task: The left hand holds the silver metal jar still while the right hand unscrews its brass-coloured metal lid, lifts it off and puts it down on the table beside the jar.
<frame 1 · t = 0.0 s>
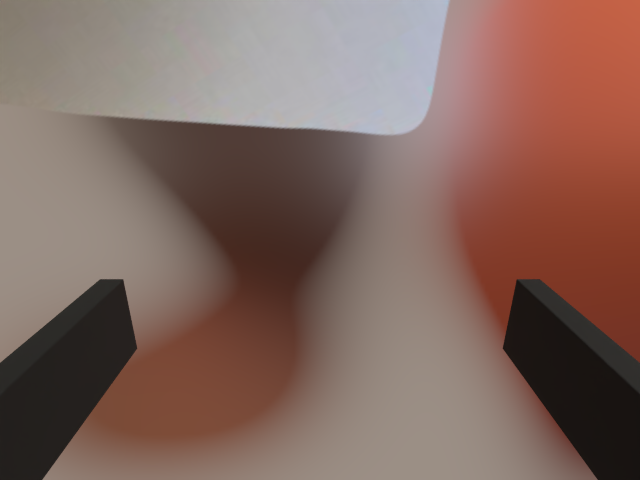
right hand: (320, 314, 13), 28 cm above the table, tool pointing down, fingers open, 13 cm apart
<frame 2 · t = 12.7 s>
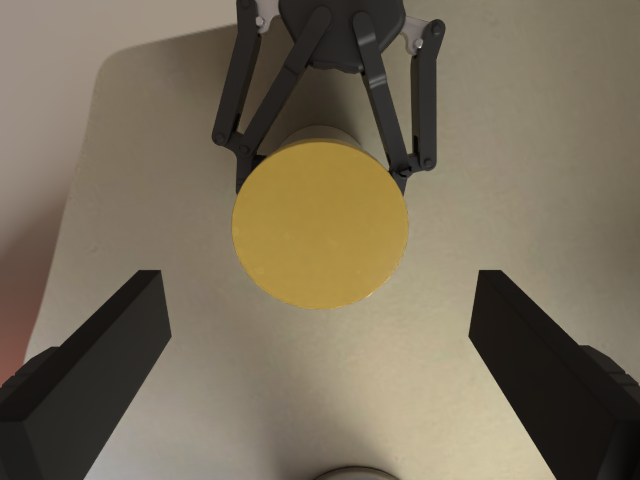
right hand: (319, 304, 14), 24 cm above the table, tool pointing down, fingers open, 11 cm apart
left hand: (313, 244, 32), fingers closed on jar, 9 cm apart
lid: (319, 230, 21), point 16 cm above the table, screwed on, not yet turned
jar: (319, 175, 36), on the table, touching left hand
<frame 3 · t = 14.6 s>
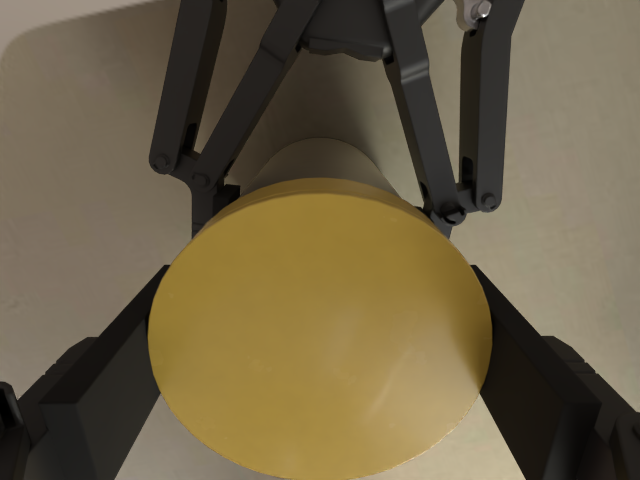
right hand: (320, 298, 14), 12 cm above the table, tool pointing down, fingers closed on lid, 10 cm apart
left hand: (310, 313, 21), fingers closed on jar, 9 cm apart
lid: (320, 352, 11), point 16 cm above the table, screwed on, not yet turned, touching right hand
jar: (320, 206, 26), on the table, touching left hand
when the right hand's fingers open (13 cm above the table, at t = 16.3 s): lid stays where it is, point 16 cm above the table.
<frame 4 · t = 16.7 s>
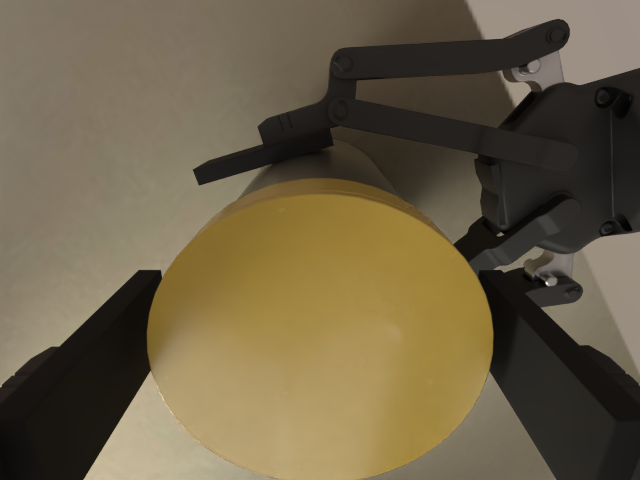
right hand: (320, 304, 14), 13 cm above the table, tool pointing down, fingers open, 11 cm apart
left hand: (239, 259, 21), fingers closed on jar, 9 cm apart
lid: (320, 353, 11), point 16 cm above the table, turned 102° so far, risen 0.2 cm, still on its thread
jar: (320, 205, 26), on the table, touching left hand
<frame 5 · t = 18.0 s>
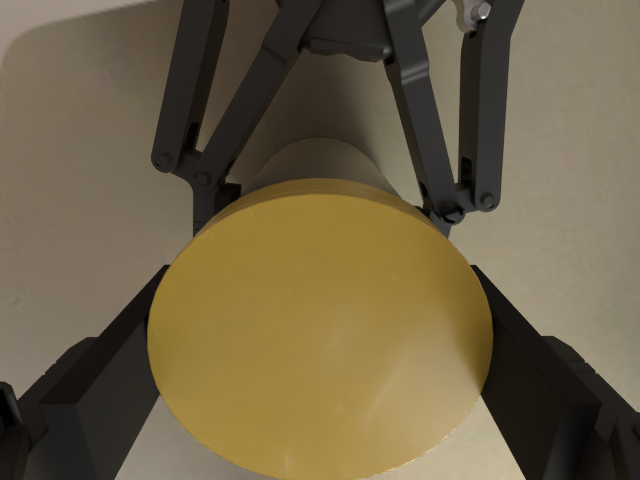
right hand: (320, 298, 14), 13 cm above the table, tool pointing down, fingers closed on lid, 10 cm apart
left hand: (310, 311, 22), fingers closed on jar, 9 cm apart
lid: (320, 353, 11), point 16 cm above the table, turned 102° so far, risen 0.2 cm, still on its thread, touching right hand
jar: (320, 205, 26), on the table, touching left hand
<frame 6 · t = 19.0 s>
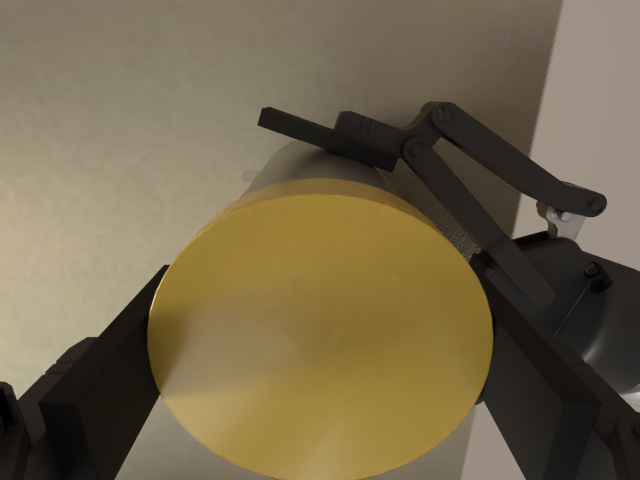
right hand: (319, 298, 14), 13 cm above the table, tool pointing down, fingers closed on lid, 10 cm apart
left hand: (237, 209, 20), fingers closed on jar, 9 cm apart
lid: (320, 353, 11), point 16 cm above the table, off its thread, touching right hand
jar: (320, 205, 26), on the table, touching left hand
when the right hand's fingers open (0 cm above the table, at t = 24.9 s): lid drops 2 cm, point 2 cm above the table.
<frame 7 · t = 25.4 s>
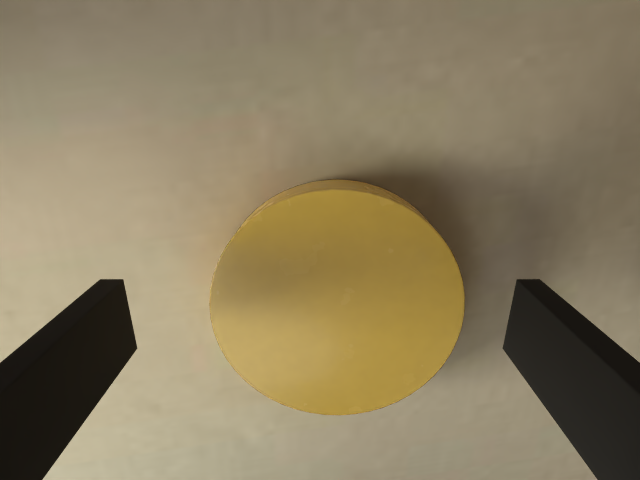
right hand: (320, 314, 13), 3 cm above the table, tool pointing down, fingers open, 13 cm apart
lid: (336, 310, 15), point 2 cm above the table, off its thread
when the left hand's fingers open (6 cm above the table, at t = 25.9 s): jar stays where it is, on the table.
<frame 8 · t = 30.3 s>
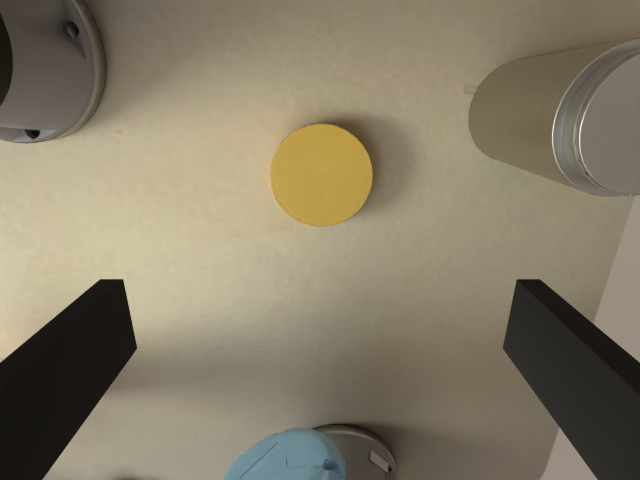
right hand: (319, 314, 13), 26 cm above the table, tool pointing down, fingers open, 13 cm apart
lid: (321, 177, 36), point 2 cm above the table, off its thread
jar: (517, 112, 35), on the table
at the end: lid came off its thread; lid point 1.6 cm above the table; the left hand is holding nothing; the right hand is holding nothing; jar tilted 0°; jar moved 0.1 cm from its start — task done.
